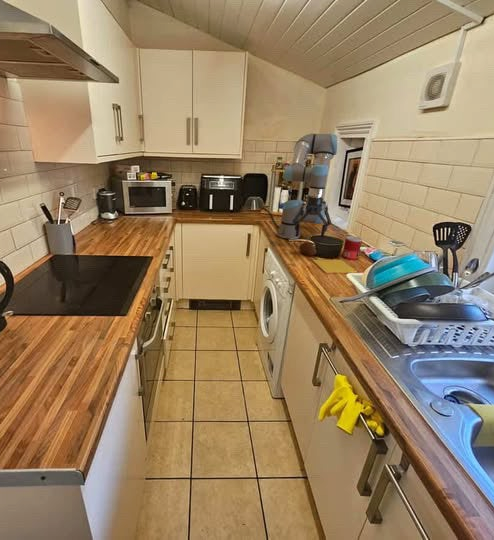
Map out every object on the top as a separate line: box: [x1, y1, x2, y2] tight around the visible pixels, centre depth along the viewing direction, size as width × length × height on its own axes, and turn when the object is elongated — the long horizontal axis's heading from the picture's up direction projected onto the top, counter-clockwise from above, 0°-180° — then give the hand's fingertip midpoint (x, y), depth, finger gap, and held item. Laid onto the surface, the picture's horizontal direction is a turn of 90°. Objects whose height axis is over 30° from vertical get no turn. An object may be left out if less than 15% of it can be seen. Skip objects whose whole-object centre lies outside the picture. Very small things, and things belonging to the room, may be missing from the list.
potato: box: [299, 242, 317, 257], centre depth 165 cm, size 6×12×6 cm, turn 30°
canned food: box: [341, 235, 363, 261], centre depth 161 cm, size 8×8×11 cm
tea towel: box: [312, 259, 358, 274], centre depth 151 cm, size 16×16×1 cm
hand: (309, 236), depth 162 cm, fingers open, 13 cm apart
